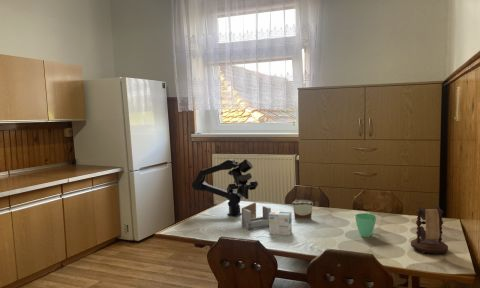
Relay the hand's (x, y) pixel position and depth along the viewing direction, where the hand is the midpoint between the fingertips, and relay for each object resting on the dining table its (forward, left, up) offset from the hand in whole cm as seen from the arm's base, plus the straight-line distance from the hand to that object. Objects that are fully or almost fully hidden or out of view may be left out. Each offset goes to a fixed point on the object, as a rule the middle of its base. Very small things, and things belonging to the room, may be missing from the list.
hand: (247, 198), depth 217 cm
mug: (+63, +19, -13) cm, 67 cm away
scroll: (+93, +16, -13) cm, 95 cm away
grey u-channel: (+12, -6, -13) cm, 18 cm away
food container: (+22, +24, -13) cm, 35 cm away
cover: (+5, -4, -12) cm, 14 cm away
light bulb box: (+28, -6, -13) cm, 31 cm away
